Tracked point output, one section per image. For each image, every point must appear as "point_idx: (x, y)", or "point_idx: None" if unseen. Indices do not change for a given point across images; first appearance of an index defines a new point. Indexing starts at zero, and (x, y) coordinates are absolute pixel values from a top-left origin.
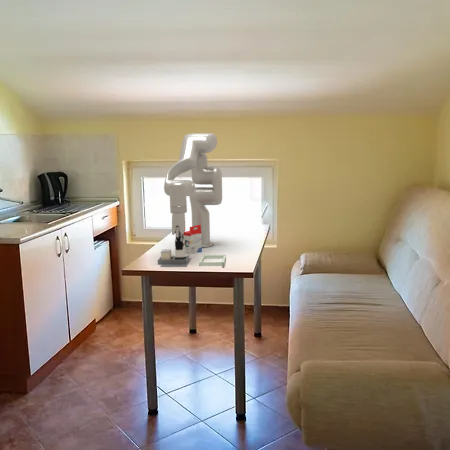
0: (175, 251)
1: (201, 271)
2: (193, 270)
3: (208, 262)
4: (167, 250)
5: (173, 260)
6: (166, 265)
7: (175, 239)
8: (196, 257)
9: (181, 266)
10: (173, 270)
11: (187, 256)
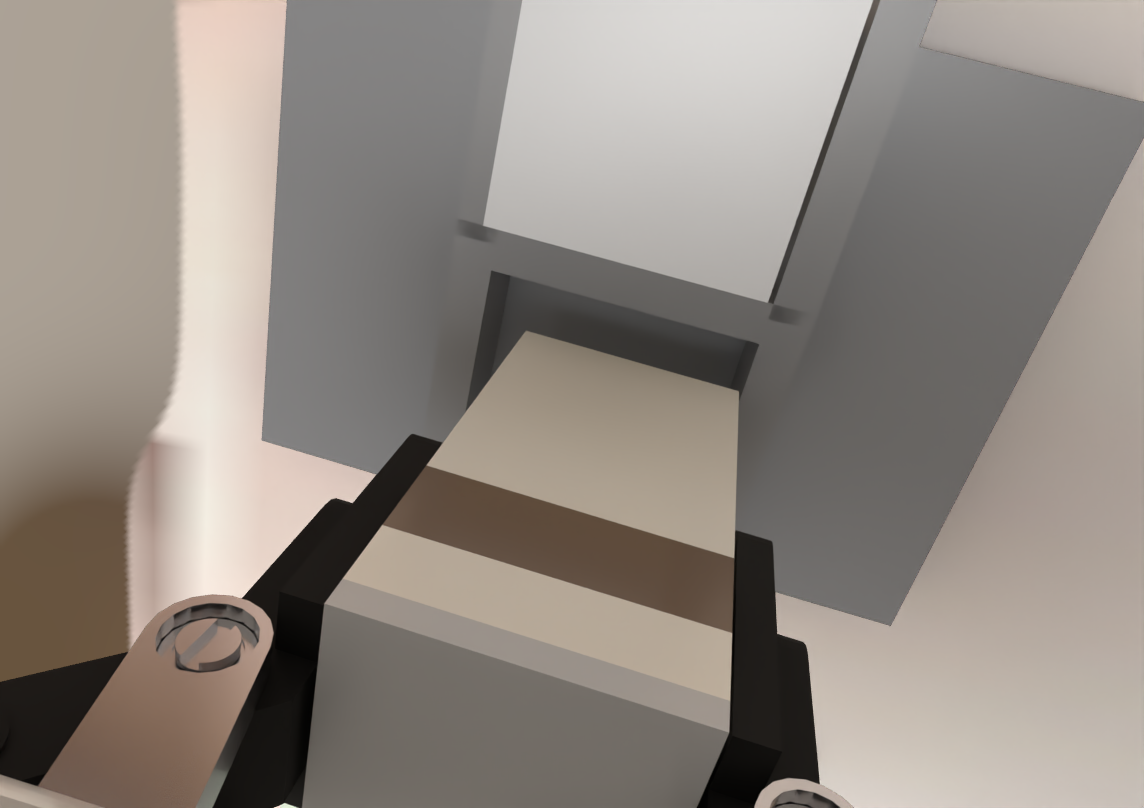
0: (484, 394)
1: (148, 589)
2: (200, 503)
3: None
4: (601, 160)
5: (452, 255)
6: (403, 65)
7: (479, 657)
8: (1068, 710)
9: (293, 363)
10: (208, 193)
11: None
